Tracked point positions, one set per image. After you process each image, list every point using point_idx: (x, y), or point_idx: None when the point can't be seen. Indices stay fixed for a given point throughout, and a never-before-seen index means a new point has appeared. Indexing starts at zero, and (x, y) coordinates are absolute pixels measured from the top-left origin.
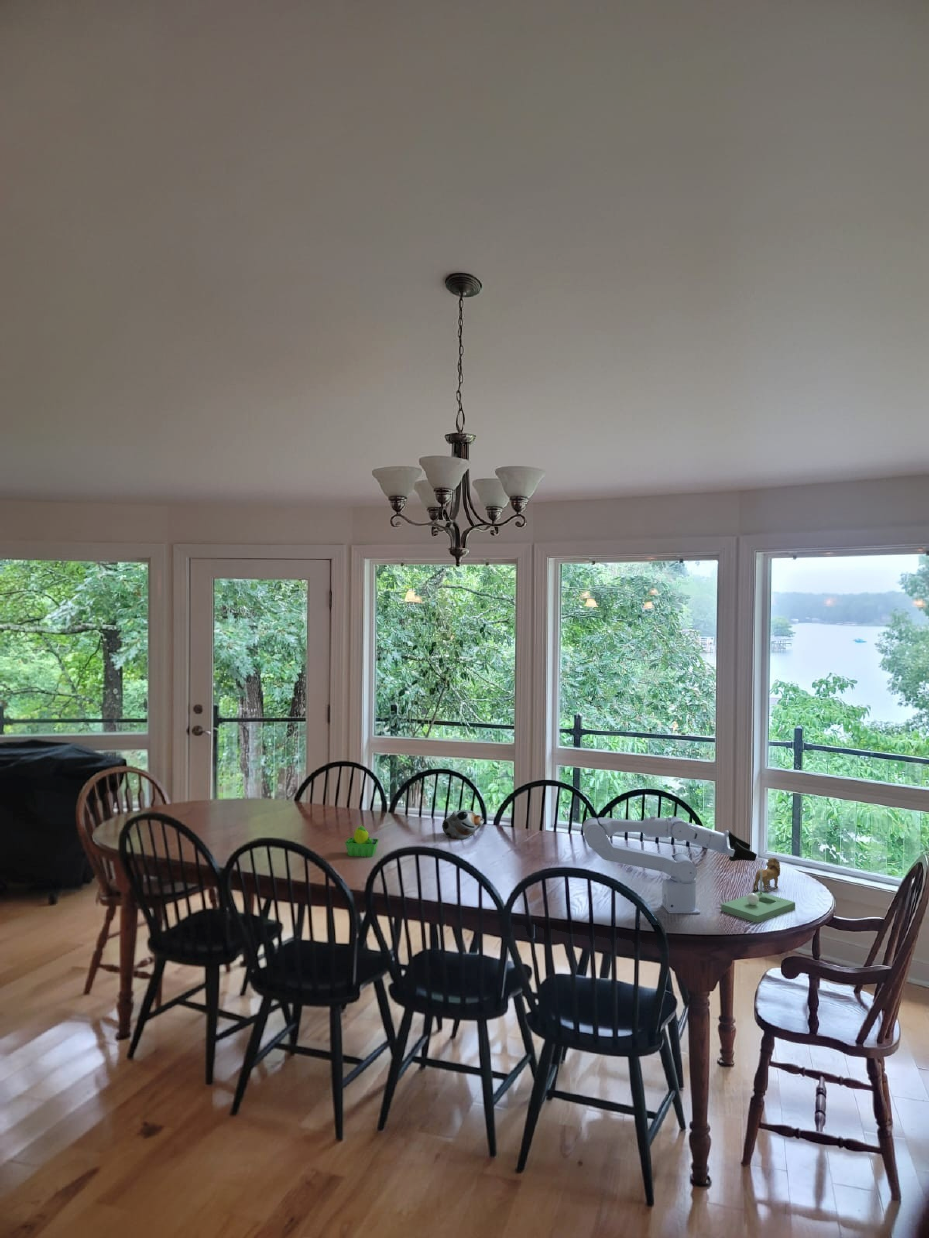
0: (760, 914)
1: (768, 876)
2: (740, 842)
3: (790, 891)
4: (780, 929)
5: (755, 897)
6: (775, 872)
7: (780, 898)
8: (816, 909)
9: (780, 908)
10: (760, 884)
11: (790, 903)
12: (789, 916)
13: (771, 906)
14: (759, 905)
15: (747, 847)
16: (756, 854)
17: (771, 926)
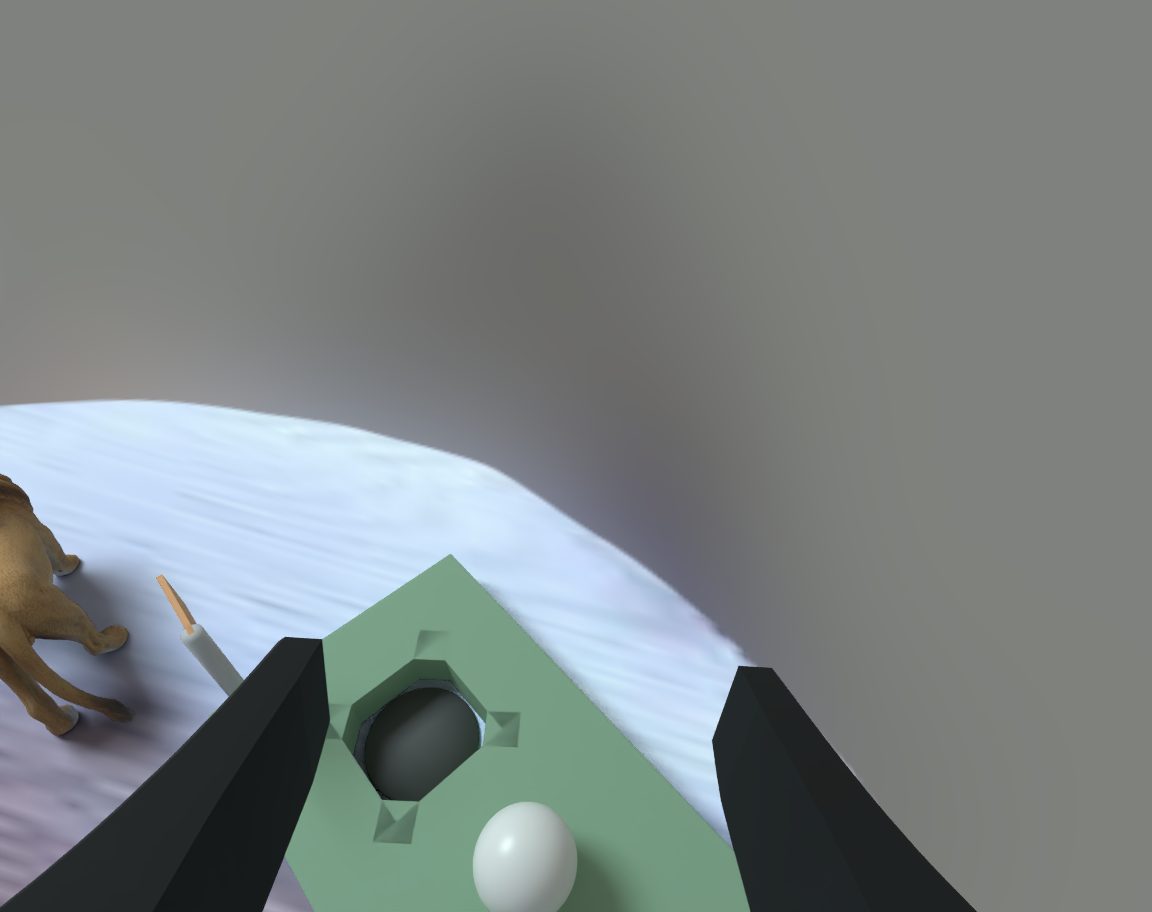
0: None
1: (46, 577)
2: (230, 830)
3: (163, 516)
4: None
5: (568, 838)
6: (21, 514)
7: (378, 615)
8: (460, 486)
9: (558, 669)
10: None
11: (474, 585)
12: (586, 643)
13: (542, 721)
14: None
15: (312, 709)
16: (775, 674)
17: None
